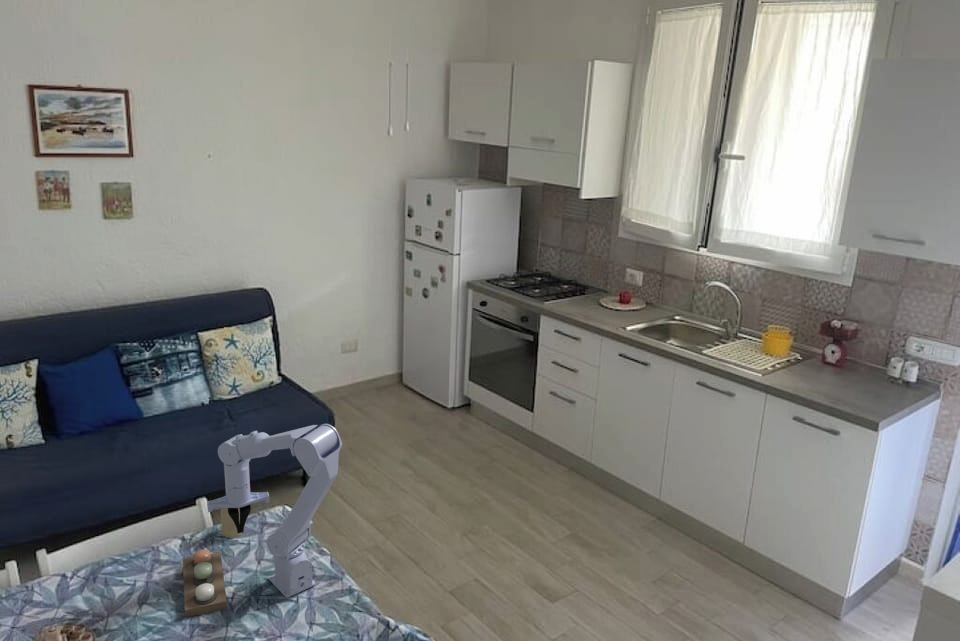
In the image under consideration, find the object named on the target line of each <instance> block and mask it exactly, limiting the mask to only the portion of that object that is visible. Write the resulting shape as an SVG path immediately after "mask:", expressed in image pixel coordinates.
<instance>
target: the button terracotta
mask: <svg viewBox="0 0 960 641" xmlns="http://www.w3.org/2000/svg"><path fill="white" fill-rule="evenodd" d="M211 554H212V553H211V551H210V550H209V549H203V548H202V549H199V550H197V551H195V552H194V553H193V554H192V555H193V556H192V557H193V559H194V564H196V565H197V564H199V563H202V562H208V563H209V562H210V560H211Z"/></svg>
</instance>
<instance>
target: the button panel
mask: <svg viewBox="0 0 960 641" xmlns="http://www.w3.org/2000/svg"><path fill="white" fill-rule="evenodd" d="M210 554H211V560H210V562H209V563H210V564H211V565H212V574H211V576H209V577H208V578H205V579H197V578H196V577H195V575H194V567H195V566H196V564H194V559H193V556H192V557H187V558H183V559H182V574H183V599H184V600H183V601H184V616H185V617H184V618H189V617H194V616H198V615H199V616H200V615H204V614H208V613H213V612H218V611H222V610H226V609H228V600H227V594H226V592H227V591H226V585H225V576H224V569H223V562H222V561H223V560H222V552H220V551H219V552H215V553H214V552H213V553H210ZM205 583H209V584H212V585H213V586H214V596H213V597H212V598H211V599H210V600H207V601H199V600H197V599H196V591H195V590H196V588H197V587H198V586H199V585H201V584H205Z"/></svg>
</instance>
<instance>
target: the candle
mask: <svg viewBox="0 0 960 641" xmlns="http://www.w3.org/2000/svg"><path fill="white" fill-rule="evenodd" d="M238 510H239V508H238ZM220 521H221V533H222V536H223V537H224V536H225V538H228V539H233V538H234V537H235V538H238V537H240V536H241V535H242V534H243V533H238V532H237V528H236V525H235V523H234V521H233V520H232V518H231V517H230V516H229V514H228V508H223V509H220ZM239 524H240V511H239Z"/></svg>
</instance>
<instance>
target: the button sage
mask: <svg viewBox="0 0 960 641" xmlns="http://www.w3.org/2000/svg"><path fill="white" fill-rule="evenodd" d="M211 574H212V565H211V564H210V563H208V562H202V563H199V564H197V565H196V566H195V567H194V575H195V577H196V578H197V579H205V578H208V577H209V576H211Z"/></svg>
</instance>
